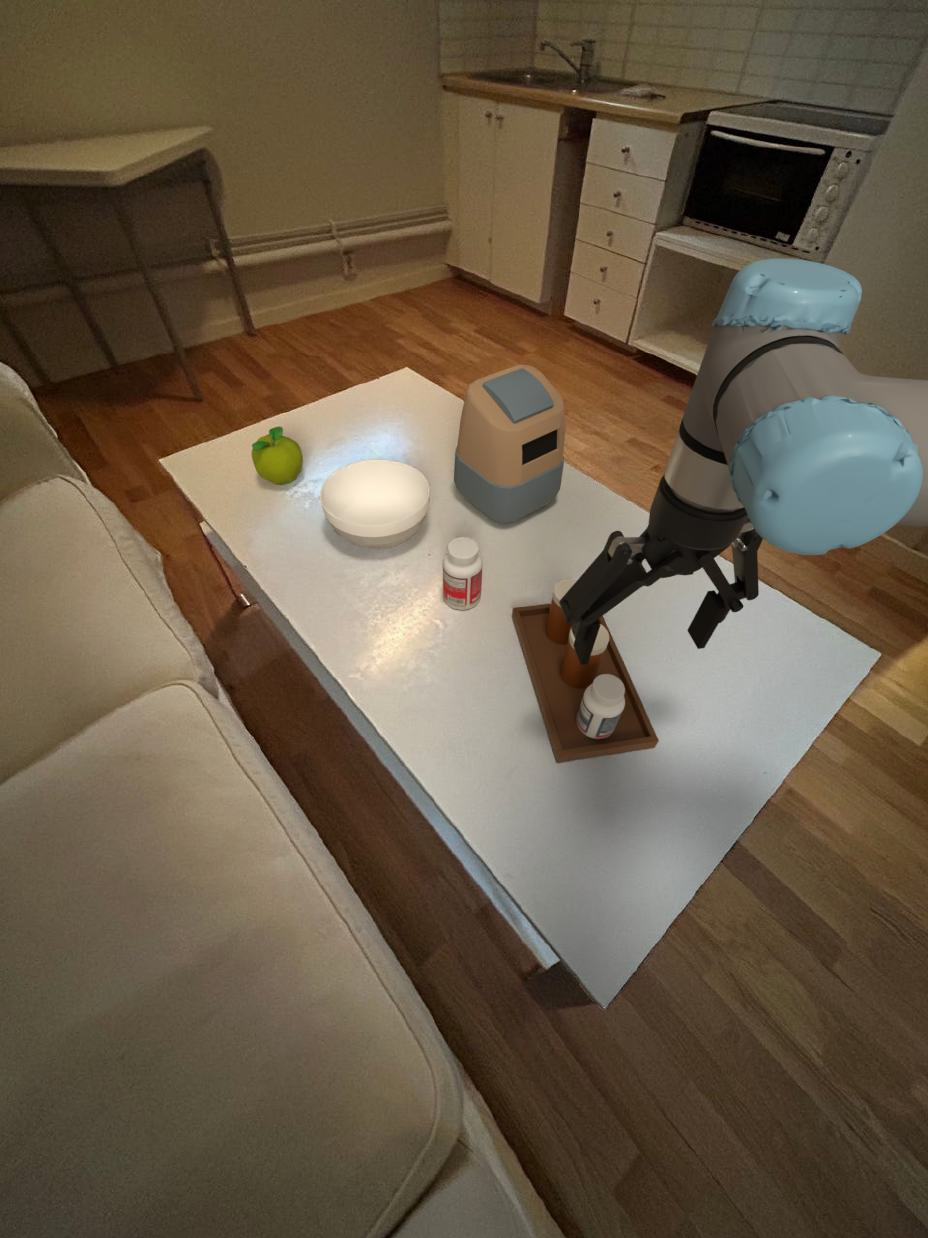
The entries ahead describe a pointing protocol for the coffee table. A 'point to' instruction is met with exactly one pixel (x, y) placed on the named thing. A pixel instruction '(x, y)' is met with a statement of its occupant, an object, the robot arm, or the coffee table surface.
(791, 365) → the robot arm
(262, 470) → the fruit
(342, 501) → the bowl
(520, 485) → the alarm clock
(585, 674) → the amber bottle middle
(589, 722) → the pill bottle
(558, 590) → the amber bottle far
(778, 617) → the coffee table surface
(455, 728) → the coffee table surface
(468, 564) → the pill bottle
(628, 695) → the tray
